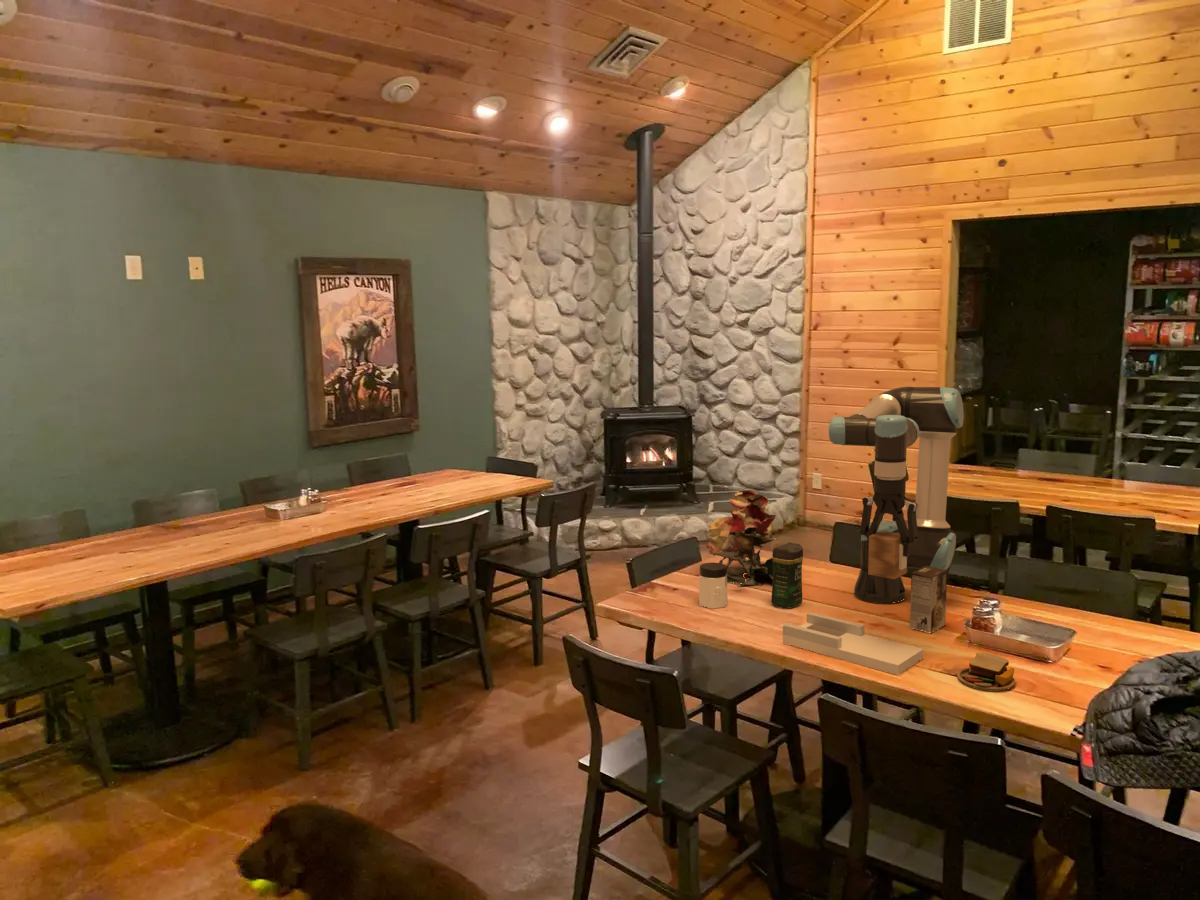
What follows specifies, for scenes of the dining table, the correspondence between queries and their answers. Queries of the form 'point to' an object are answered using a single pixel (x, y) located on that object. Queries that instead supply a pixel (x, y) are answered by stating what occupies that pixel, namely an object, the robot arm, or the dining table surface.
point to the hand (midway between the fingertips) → (888, 565)
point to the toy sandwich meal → (987, 673)
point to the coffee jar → (787, 575)
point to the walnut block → (885, 555)
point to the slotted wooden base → (850, 644)
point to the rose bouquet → (743, 537)
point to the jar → (713, 585)
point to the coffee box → (928, 598)
